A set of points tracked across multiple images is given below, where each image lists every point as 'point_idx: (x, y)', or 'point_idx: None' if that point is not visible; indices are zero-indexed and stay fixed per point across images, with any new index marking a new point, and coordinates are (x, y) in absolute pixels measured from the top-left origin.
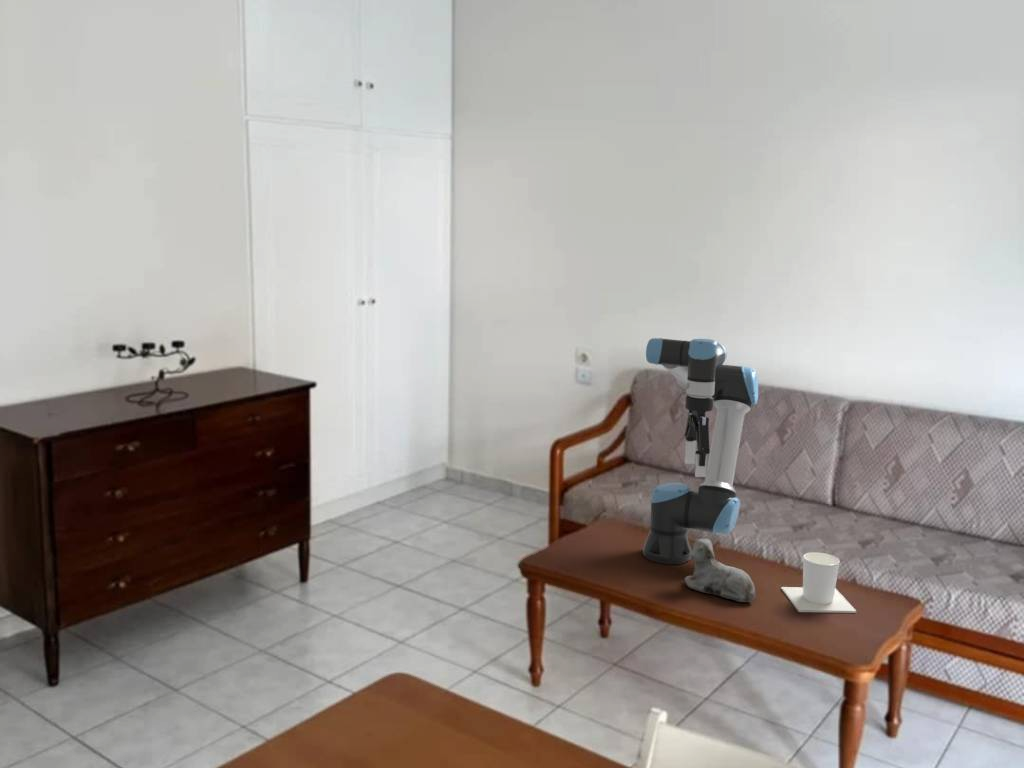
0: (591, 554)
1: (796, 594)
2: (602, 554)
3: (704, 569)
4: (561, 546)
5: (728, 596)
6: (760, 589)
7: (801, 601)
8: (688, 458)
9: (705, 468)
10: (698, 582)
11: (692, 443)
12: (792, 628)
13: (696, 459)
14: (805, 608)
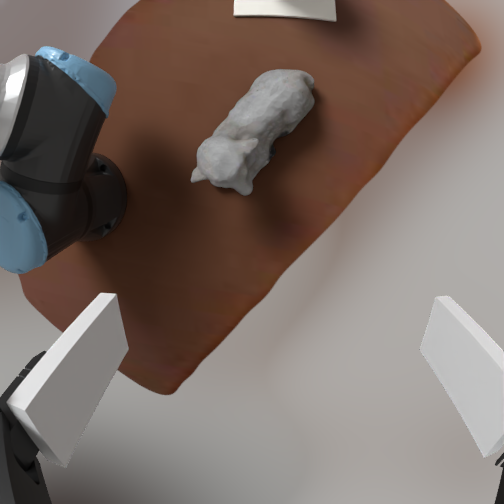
0: None
1: (268, 1)
2: None
3: (252, 158)
4: None
5: (299, 121)
6: (237, 49)
7: (299, 4)
8: (110, 355)
9: (477, 329)
10: (257, 169)
11: (48, 423)
12: (397, 59)
13: (474, 422)
14: (329, 9)
